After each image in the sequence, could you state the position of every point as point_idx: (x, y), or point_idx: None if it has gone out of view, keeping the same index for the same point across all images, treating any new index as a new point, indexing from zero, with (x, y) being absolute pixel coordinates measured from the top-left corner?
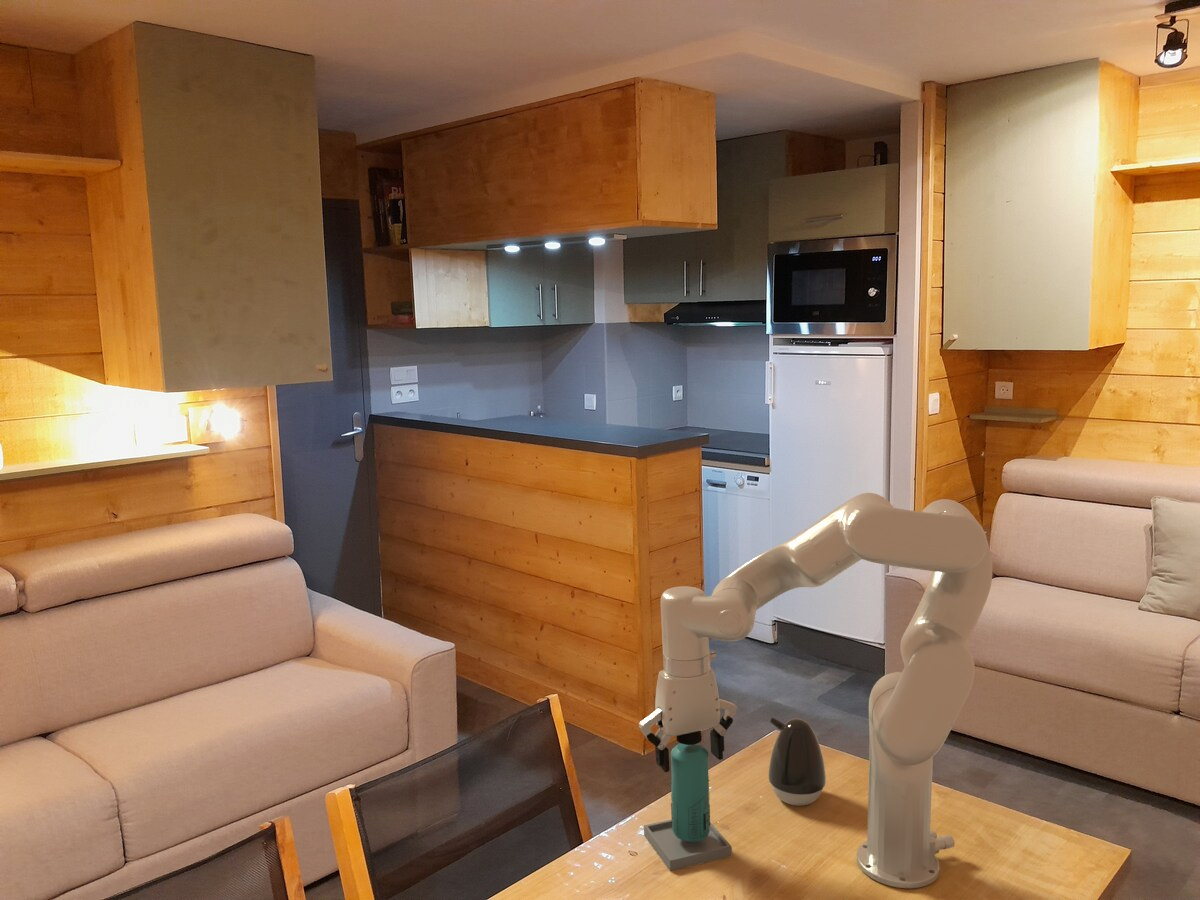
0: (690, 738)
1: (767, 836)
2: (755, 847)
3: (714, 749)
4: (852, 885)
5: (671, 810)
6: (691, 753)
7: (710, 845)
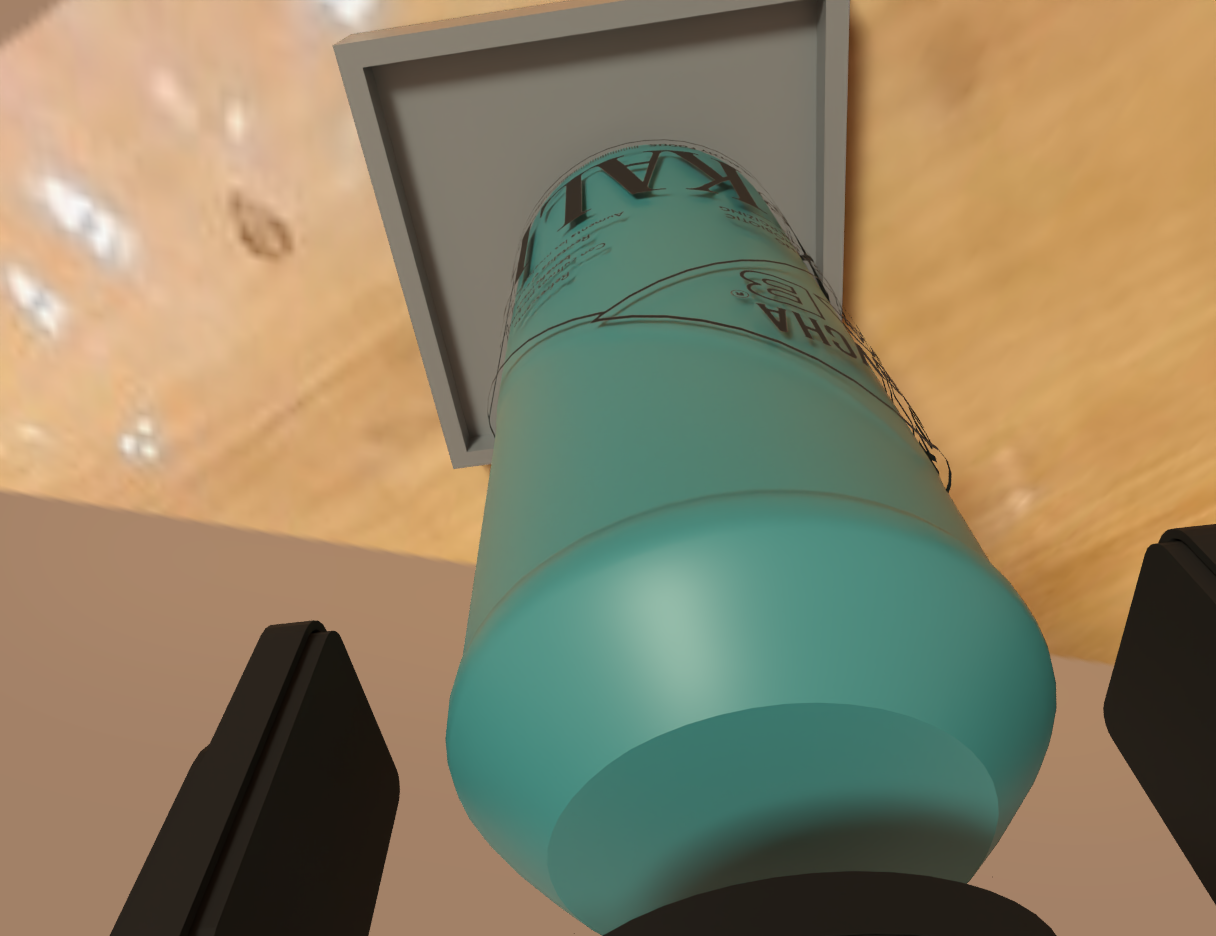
0: None
1: (1130, 248)
2: (993, 336)
3: (1182, 711)
4: None
5: (519, 262)
6: None
7: None
